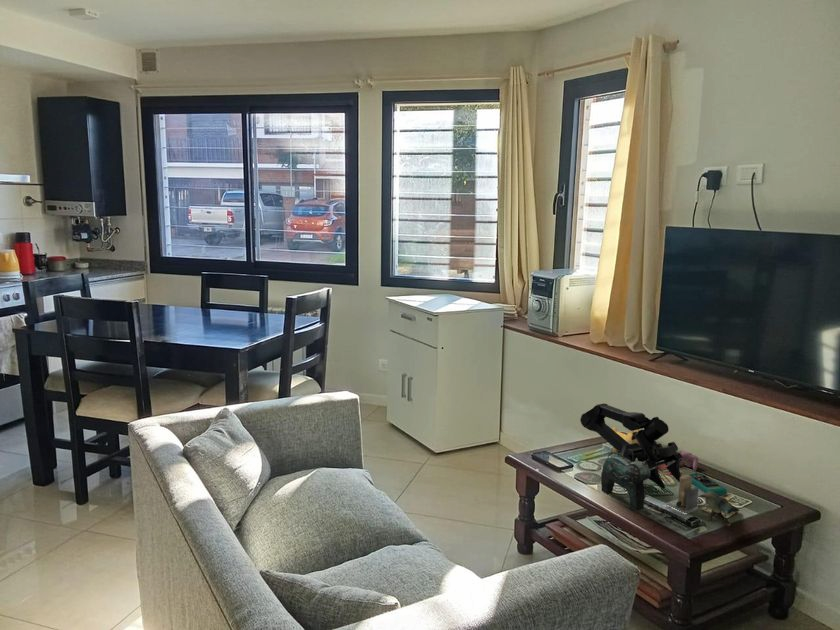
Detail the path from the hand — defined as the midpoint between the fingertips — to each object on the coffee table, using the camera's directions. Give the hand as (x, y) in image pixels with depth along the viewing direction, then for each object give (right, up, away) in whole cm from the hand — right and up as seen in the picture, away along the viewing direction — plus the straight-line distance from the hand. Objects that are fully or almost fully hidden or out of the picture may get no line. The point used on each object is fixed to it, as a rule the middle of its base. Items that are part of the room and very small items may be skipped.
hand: (672, 485), depth 227 cm
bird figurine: (+11, -9, -11) cm, 18 cm away
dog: (-2, +1, +42) cm, 42 cm away
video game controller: (+17, -1, +31) cm, 36 cm away
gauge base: (+2, -7, -3) cm, 8 cm away
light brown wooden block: (+2, -6, -4) cm, 7 cm away
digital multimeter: (+18, -5, +13) cm, 22 cm away
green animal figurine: (-17, -6, +2) cm, 19 cm away
